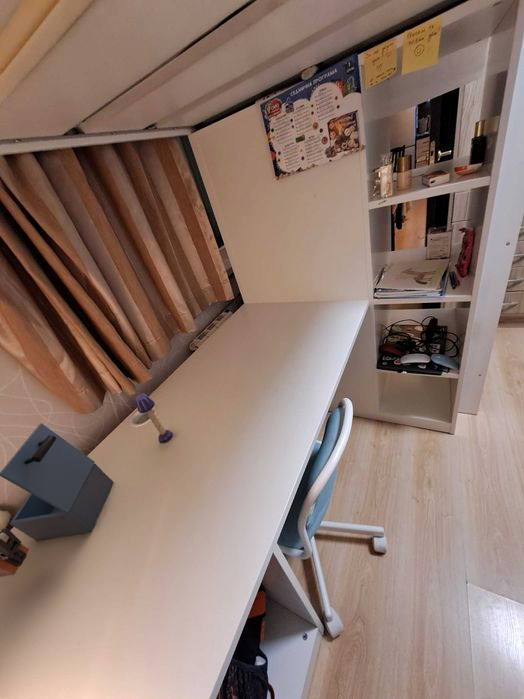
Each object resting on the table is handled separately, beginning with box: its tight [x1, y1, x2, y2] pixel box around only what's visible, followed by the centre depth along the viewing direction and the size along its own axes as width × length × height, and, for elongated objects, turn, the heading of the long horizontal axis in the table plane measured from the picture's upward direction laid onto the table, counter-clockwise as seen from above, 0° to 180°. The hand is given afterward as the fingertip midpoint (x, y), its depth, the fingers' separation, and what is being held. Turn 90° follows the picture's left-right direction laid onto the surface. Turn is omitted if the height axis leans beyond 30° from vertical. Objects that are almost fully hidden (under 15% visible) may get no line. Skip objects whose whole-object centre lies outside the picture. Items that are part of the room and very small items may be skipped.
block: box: [0, 543, 30, 577], centre depth 57 cm, size 4×4×4 cm
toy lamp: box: [134, 393, 173, 444], centre depth 83 cm, size 5×5×17 cm
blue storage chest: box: [9, 463, 115, 542], centre depth 72 cm, size 16×13×9 cm
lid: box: [0, 422, 96, 513], centre depth 64 cm, size 16×13×5 cm
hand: (11, 562), depth 58 cm, fingers closed on block, 4 cm apart
